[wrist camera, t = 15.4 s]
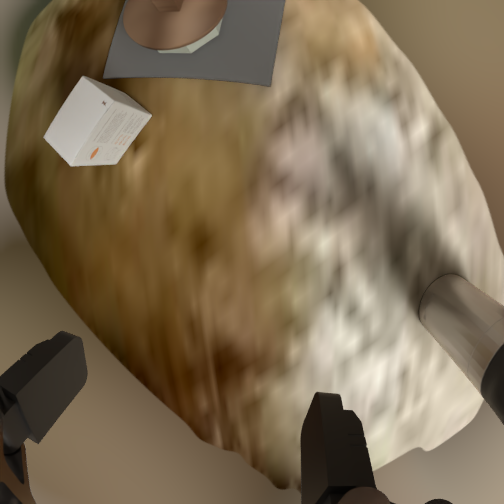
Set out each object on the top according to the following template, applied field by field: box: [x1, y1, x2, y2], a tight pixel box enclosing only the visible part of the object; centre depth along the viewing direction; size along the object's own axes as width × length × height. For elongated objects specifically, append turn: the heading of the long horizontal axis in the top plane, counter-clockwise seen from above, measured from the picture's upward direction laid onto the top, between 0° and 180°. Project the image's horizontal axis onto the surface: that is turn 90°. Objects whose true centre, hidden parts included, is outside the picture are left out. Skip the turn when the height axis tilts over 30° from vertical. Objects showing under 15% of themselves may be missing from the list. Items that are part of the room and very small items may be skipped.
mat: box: [103, 0, 285, 87], centre depth 30 cm, size 22×14×1 cm, turn 81°
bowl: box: [157, 18, 223, 53], centre depth 28 cm, size 10×10×5 cm
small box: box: [44, 76, 152, 166], centre depth 29 cm, size 8×6×10 cm
